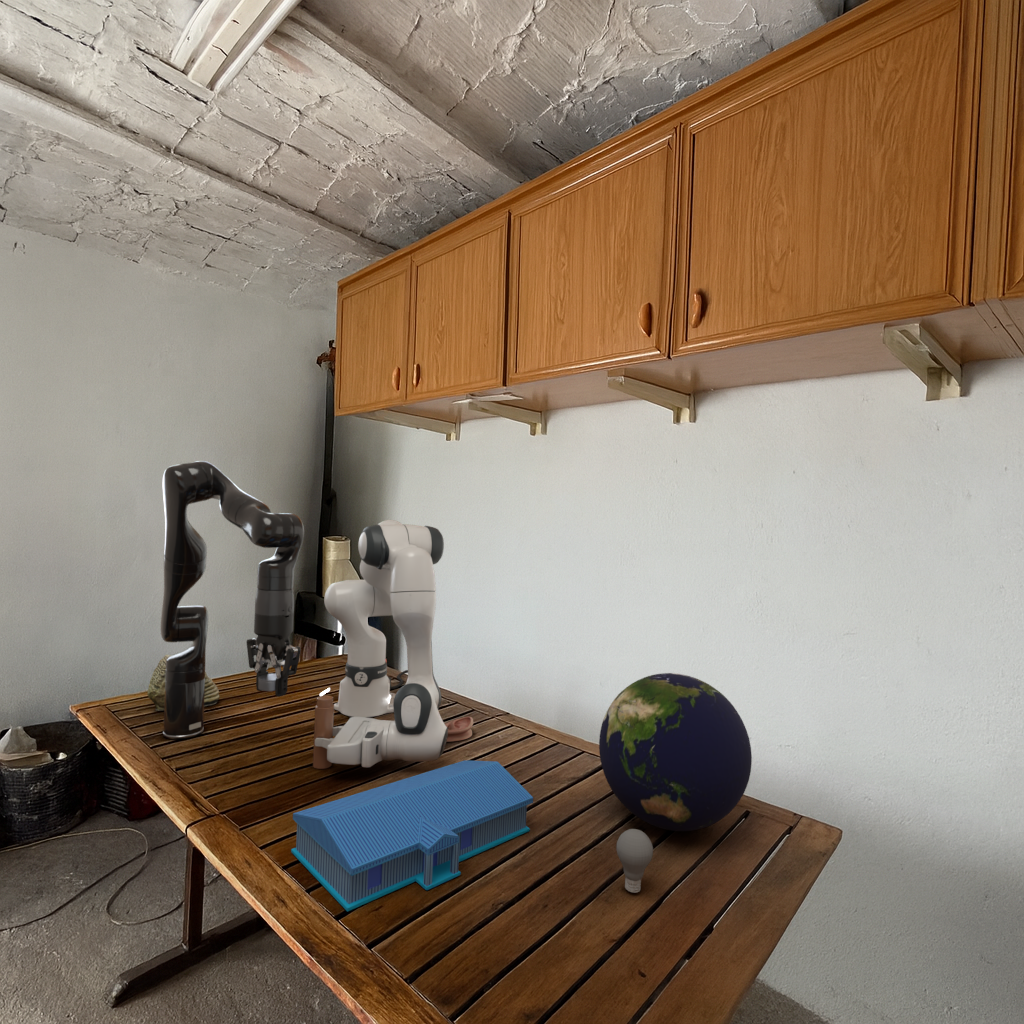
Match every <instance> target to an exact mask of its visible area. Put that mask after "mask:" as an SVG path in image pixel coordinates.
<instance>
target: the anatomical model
mask: <svg viewBox="0 0 1024 1024" xmlns="http://www.w3.org/2000/svg"><path fill="white" fill-rule="evenodd" d="M444 724H445V726H446V727H447V728H448V736H447V741H446V743H447V742H458V741H459V742H460V741H463V740H467V739H469V738H471V737H472V736H473V730H472V727H473V726H474V718H473V717H472V716H468V715H467V716H463V717H459V718H456V719H453V720H450V721H448V722H444Z"/></svg>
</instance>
